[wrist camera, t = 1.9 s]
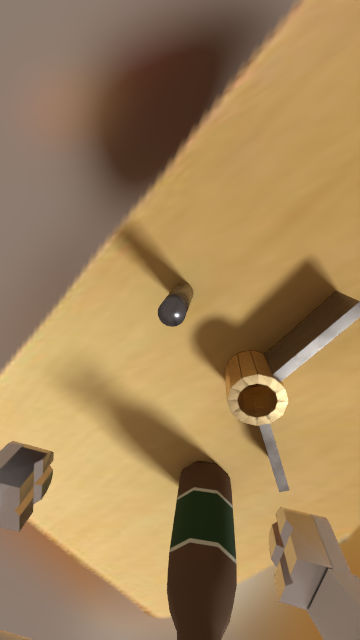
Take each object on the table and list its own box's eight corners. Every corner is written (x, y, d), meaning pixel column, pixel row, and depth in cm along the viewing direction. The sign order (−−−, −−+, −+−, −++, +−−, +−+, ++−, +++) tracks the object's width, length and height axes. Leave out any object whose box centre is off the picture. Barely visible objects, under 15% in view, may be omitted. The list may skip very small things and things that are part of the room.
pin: (182, 278, 31) (170, 294, 22) (197, 292, 31) (191, 312, 23) (168, 293, 32) (152, 314, 23) (184, 306, 32) (173, 331, 23)
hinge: (321, 276, 29) (347, 285, 23) (411, 364, 31) (456, 393, 25) (193, 393, 35) (189, 423, 30) (274, 461, 37) (284, 502, 31)
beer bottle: (216, 507, 41) (218, 849, 18) (170, 486, 41) (115, 803, 18) (241, 473, 38) (281, 820, 16) (192, 450, 38) (160, 767, 15)
